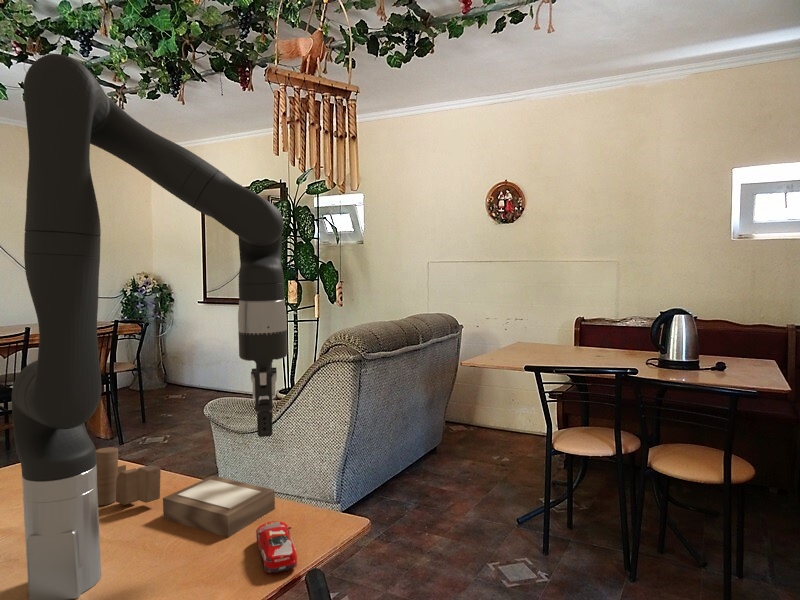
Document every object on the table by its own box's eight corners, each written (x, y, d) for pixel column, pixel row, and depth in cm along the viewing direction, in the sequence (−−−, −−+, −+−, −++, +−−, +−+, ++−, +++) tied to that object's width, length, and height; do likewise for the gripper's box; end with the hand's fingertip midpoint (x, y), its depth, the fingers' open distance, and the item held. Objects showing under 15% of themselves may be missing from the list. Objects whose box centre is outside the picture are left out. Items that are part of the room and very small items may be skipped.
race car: (254, 536, 94) (253, 513, 94) (287, 530, 96) (286, 508, 95) (262, 580, 82) (262, 554, 81) (299, 572, 83) (299, 547, 83)
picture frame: (275, 510, 105) (274, 488, 105) (228, 538, 95) (227, 514, 94) (213, 494, 113) (212, 474, 112) (163, 519, 102) (162, 496, 102)
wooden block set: (168, 504, 108) (170, 451, 108) (126, 518, 101) (127, 461, 101) (117, 486, 118) (119, 438, 118) (75, 497, 111) (76, 446, 111)
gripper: (287, 332, 82) (290, 440, 83) (285, 322, 96) (288, 414, 97) (235, 334, 81) (238, 444, 82) (241, 324, 95) (243, 417, 96)
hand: (265, 428), depth 90 cm, fingers open, 8 cm apart
